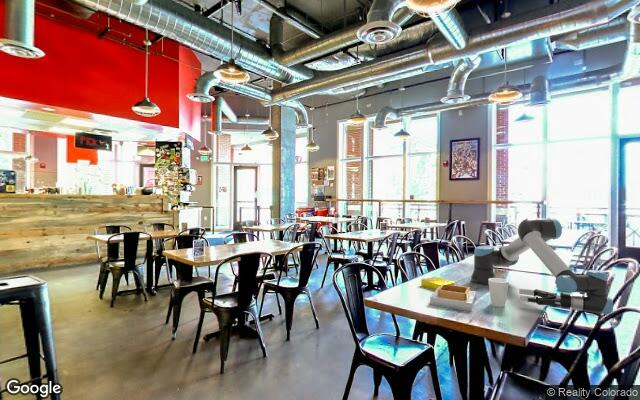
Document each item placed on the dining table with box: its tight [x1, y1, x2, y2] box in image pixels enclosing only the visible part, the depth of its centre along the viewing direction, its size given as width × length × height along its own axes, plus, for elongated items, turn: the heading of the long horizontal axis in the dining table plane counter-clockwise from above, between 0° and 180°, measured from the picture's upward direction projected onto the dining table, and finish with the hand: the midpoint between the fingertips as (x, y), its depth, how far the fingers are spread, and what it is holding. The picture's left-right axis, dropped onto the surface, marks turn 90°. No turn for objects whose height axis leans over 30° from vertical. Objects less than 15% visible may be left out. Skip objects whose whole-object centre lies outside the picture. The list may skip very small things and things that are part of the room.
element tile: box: [420, 276, 455, 291], centre depth 214 cm, size 15×15×5 cm
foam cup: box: [487, 277, 510, 308], centre depth 180 cm, size 10×9×13 cm
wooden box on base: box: [429, 284, 477, 312], centre depth 185 cm, size 24×20×7 cm
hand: (519, 294), depth 175 cm, fingers open, 13 cm apart
